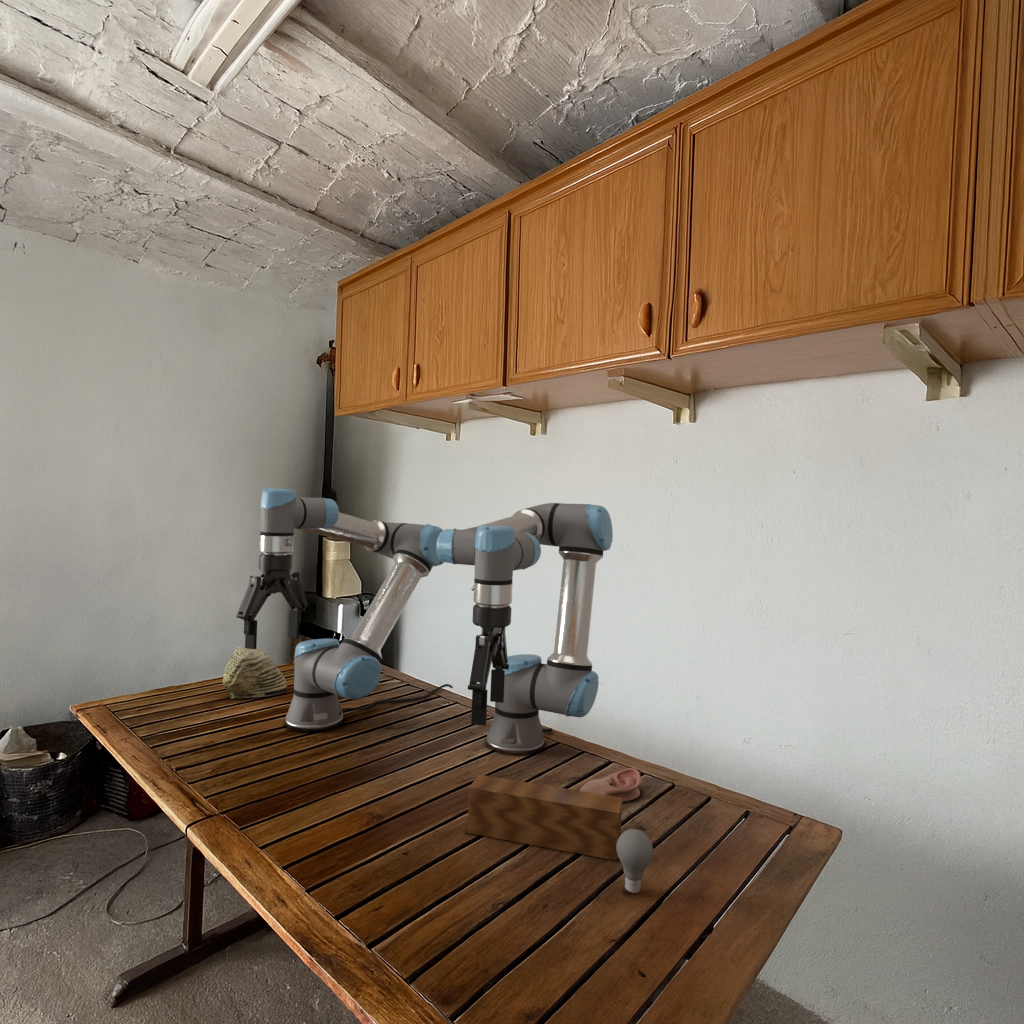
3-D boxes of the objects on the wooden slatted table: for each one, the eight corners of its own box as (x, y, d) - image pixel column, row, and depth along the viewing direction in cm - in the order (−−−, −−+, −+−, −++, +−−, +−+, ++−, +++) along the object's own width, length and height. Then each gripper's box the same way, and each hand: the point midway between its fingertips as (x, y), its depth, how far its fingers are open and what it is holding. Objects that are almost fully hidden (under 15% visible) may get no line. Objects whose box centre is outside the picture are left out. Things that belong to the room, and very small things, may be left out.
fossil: (218, 695, 195) (220, 647, 195) (278, 685, 208) (279, 640, 207) (228, 703, 189) (230, 653, 188) (289, 692, 201) (290, 645, 201)
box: (620, 843, 120) (622, 797, 120) (617, 861, 115) (619, 812, 114) (476, 817, 128) (478, 774, 128) (466, 832, 122) (468, 787, 122)
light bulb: (610, 879, 108) (613, 822, 108) (644, 879, 109) (647, 822, 109) (619, 902, 102) (622, 840, 102) (655, 901, 103) (658, 840, 103)
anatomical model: (578, 780, 137) (583, 760, 149) (577, 799, 137) (582, 776, 149) (641, 789, 135) (641, 767, 146) (640, 807, 135) (640, 784, 146)
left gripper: (246, 558, 137) (243, 655, 137) (324, 551, 160) (321, 635, 160) (221, 555, 140) (217, 651, 140) (301, 549, 163) (298, 631, 163)
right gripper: (490, 593, 136) (486, 691, 137) (453, 614, 112) (449, 732, 113) (524, 596, 135) (520, 695, 135) (494, 617, 110) (490, 738, 111)
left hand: (272, 643), depth 150 cm, fingers open, 13 cm apart
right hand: (488, 712), depth 124 cm, fingers open, 13 cm apart
